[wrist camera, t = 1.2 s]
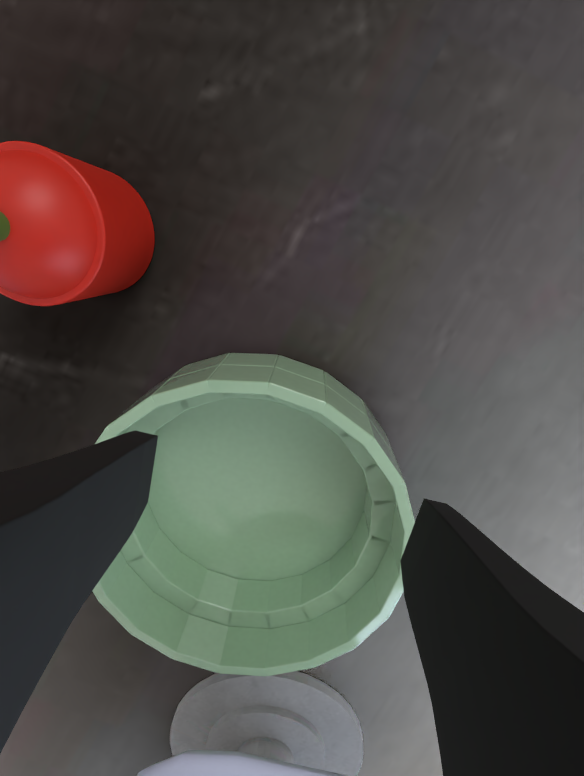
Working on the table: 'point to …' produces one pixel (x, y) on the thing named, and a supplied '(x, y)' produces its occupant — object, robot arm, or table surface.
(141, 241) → the pepper
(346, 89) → the table surface
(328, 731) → the mate gourd
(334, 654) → the bowl
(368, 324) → the table surface
